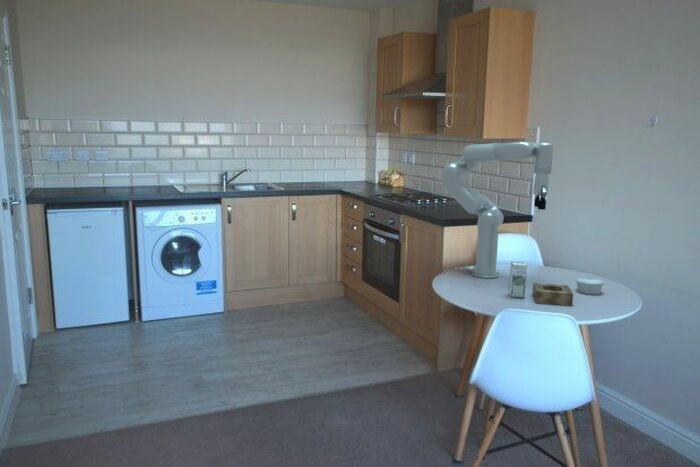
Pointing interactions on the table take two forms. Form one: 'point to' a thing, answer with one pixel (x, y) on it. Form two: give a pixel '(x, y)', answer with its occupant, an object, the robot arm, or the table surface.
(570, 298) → the socket block
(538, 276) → the table surface
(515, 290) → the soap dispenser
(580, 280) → the ramekin
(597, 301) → the table surface
